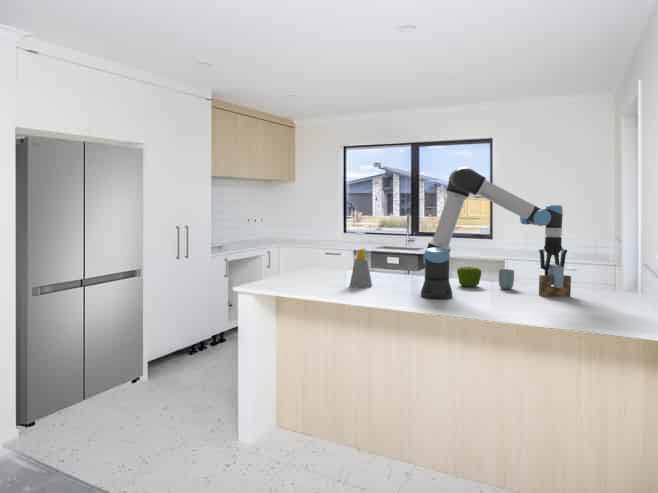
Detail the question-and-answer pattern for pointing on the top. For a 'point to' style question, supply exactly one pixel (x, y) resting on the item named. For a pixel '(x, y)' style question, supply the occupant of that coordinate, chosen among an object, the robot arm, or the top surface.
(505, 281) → the cup
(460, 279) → the green rounded piece
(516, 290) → the top surface
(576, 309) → the top surface
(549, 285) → the brown u-shaped block
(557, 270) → the grey tunnel block
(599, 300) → the top surface
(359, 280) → the soap bottle
